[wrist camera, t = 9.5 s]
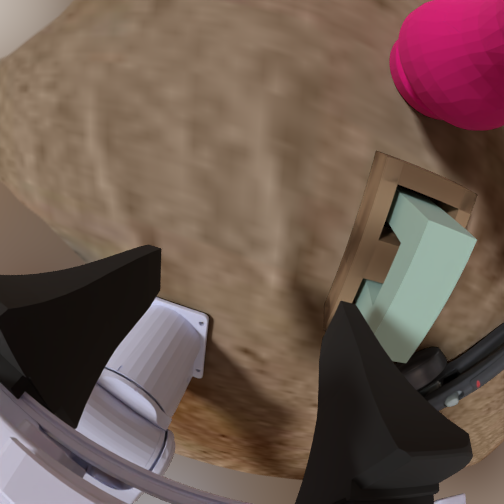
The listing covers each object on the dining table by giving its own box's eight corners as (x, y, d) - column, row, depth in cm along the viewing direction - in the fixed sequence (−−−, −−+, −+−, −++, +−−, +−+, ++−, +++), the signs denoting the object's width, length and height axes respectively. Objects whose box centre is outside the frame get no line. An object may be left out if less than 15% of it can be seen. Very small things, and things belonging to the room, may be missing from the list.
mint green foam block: (387, 296, 19) (406, 363, 13) (352, 287, 20) (361, 355, 14) (428, 198, 16) (477, 239, 10) (390, 184, 16) (428, 219, 10)
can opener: (389, 399, 25) (393, 441, 20) (372, 365, 23) (377, 413, 18) (524, 332, 18) (543, 366, 13) (526, 285, 16) (554, 320, 11)
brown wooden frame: (395, 322, 20) (401, 347, 18) (324, 305, 21) (323, 330, 18) (456, 183, 15) (477, 194, 12) (376, 150, 15) (387, 155, 13)
